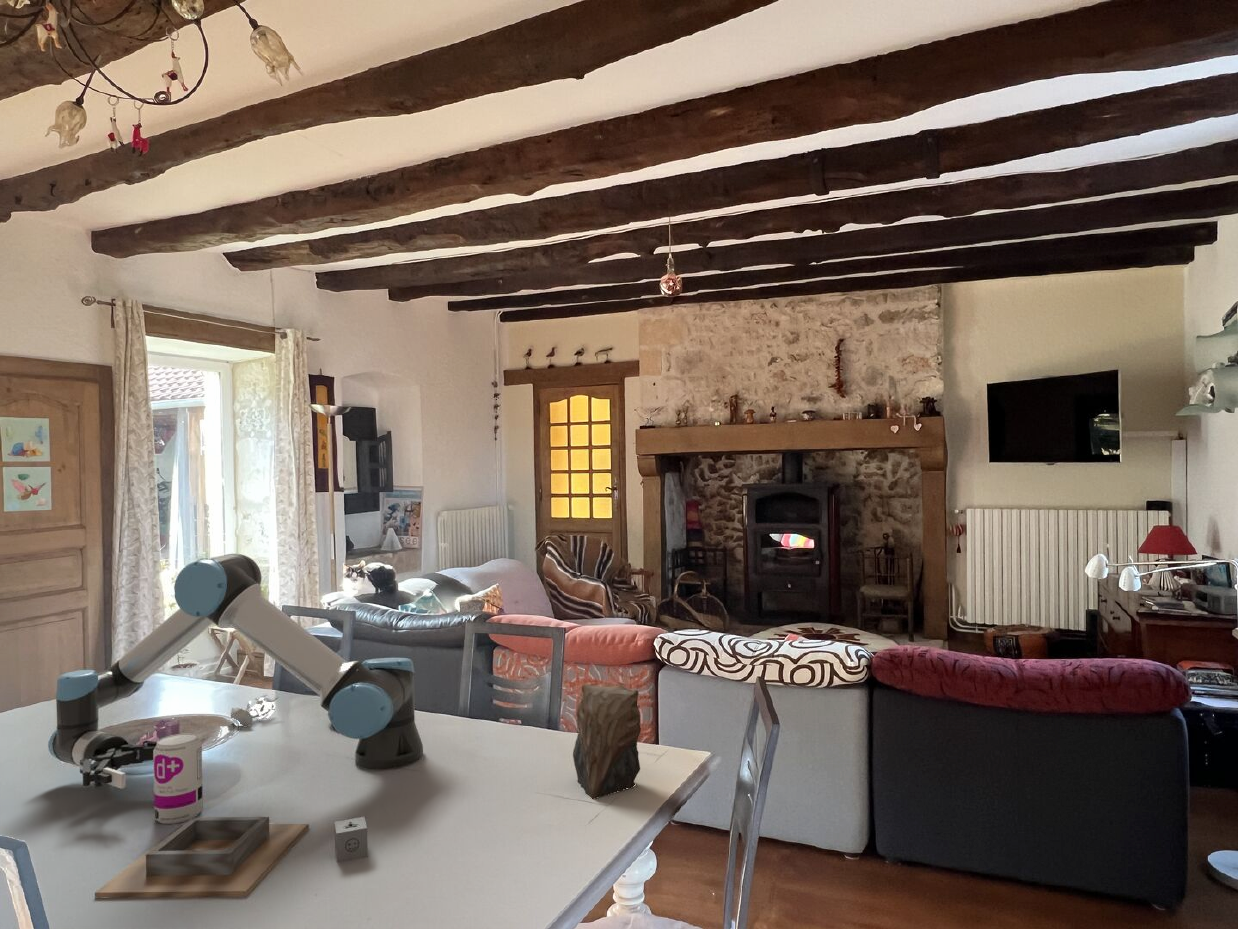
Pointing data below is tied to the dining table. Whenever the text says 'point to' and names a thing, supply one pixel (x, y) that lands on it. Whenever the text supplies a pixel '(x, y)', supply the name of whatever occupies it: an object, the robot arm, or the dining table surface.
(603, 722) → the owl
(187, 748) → the supplement can
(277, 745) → the dining table surface
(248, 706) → the figurine
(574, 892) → the dining table surface
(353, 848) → the dice cube
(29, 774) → the dining table surface
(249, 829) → the collar board
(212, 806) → the dining table surface
